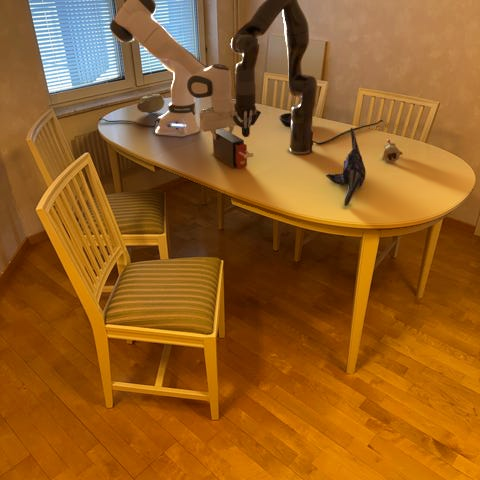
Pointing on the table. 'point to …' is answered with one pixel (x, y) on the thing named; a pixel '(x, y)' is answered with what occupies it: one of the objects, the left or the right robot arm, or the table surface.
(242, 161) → the drawer
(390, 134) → the table surface
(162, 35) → the left robot arm
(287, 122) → the oil lamp
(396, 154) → the figurine
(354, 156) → the toy dinosaur
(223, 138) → the dark grey block
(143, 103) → the decorative stone
